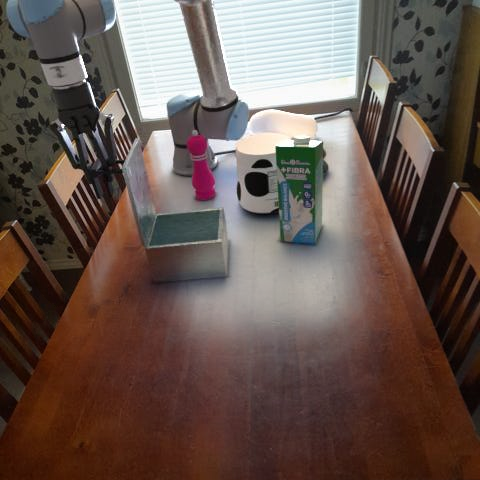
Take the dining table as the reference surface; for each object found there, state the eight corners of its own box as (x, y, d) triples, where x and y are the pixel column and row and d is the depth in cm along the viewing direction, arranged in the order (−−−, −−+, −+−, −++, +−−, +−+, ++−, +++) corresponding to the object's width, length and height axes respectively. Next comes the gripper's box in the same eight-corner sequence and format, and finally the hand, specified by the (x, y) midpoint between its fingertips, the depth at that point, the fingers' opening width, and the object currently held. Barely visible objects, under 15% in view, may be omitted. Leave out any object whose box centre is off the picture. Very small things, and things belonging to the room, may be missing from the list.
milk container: (254, 187, 142) (249, 128, 129) (306, 194, 134) (305, 133, 122) (228, 214, 131) (219, 153, 119) (283, 223, 124) (280, 159, 112)
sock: (318, 108, 163) (320, 128, 155) (315, 134, 171) (317, 154, 163) (248, 108, 165) (247, 127, 156) (249, 134, 172) (247, 153, 164)
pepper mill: (194, 191, 144) (181, 127, 131) (216, 188, 144) (206, 124, 130) (194, 202, 139) (181, 136, 125) (217, 199, 138) (207, 132, 125)
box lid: (139, 137, 102) (97, 140, 103) (125, 167, 91) (78, 170, 91) (155, 212, 115) (118, 214, 115) (145, 246, 103) (103, 248, 104)
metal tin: (228, 240, 120) (223, 207, 114) (227, 276, 109) (221, 241, 102) (162, 246, 122) (154, 213, 115) (154, 282, 110) (144, 248, 103)
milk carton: (322, 226, 121) (323, 130, 104) (314, 244, 115) (315, 146, 98) (289, 223, 124) (285, 130, 107) (280, 241, 117) (275, 145, 101)
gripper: (24, 94, 85) (69, 206, 101) (102, 84, 84) (135, 200, 100) (37, 82, 91) (78, 191, 107) (111, 73, 90) (141, 184, 105)
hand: (106, 195), depth 103 cm, fingers closed on box lid, 2 cm apart
